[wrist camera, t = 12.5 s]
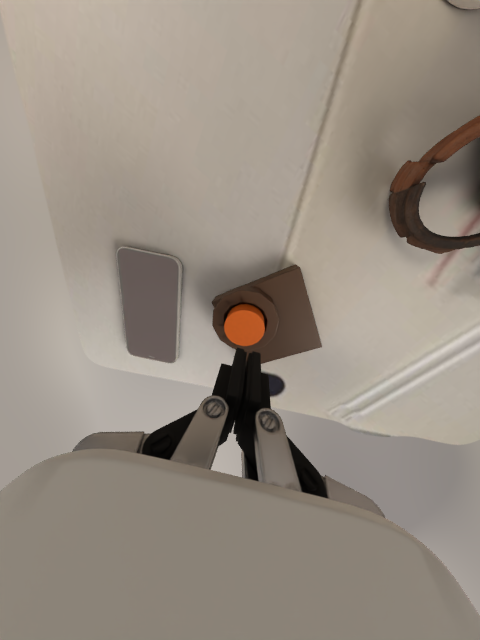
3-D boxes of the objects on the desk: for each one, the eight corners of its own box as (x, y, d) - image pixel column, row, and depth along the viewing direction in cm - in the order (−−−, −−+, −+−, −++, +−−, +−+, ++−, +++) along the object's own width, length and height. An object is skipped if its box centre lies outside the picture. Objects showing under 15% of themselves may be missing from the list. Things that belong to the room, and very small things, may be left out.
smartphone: (180, 258, 19) (176, 364, 25) (183, 257, 20) (179, 360, 26) (114, 244, 19) (127, 354, 25) (120, 244, 20) (131, 351, 26)
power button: (235, 341, 19) (233, 350, 18) (220, 311, 18) (217, 318, 16) (269, 331, 18) (270, 339, 17) (256, 298, 17) (256, 303, 15)
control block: (243, 358, 25) (240, 378, 21) (210, 294, 21) (201, 305, 17) (316, 337, 22) (327, 356, 19) (294, 260, 19) (303, 264, 15)
